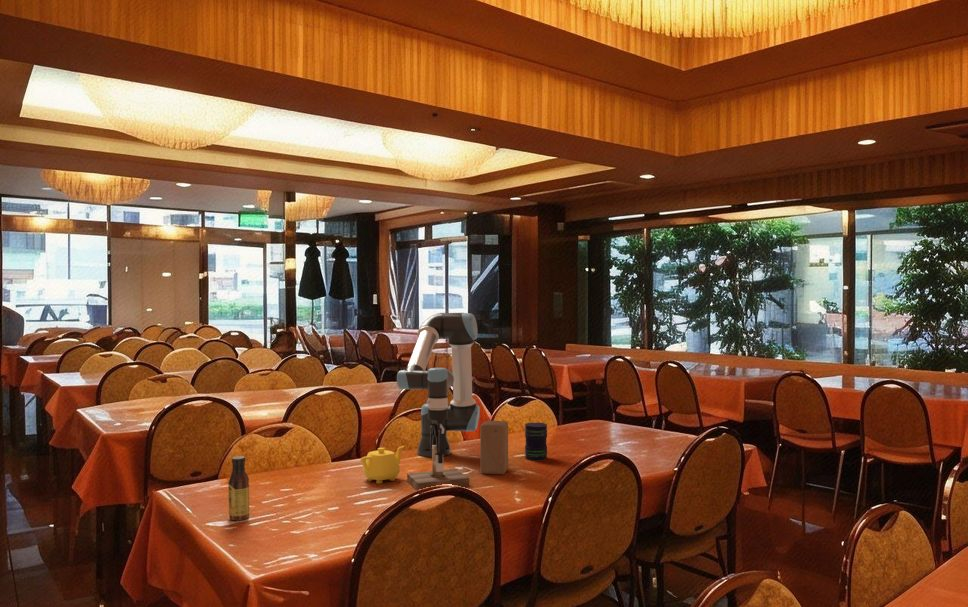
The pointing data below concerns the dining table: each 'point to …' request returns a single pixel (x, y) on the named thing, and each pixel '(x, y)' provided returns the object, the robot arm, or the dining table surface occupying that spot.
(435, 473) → the peg
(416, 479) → the board
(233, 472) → the sauce bottle
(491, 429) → the wooden block
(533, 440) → the storage jar
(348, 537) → the dining table surface
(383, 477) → the teapot
